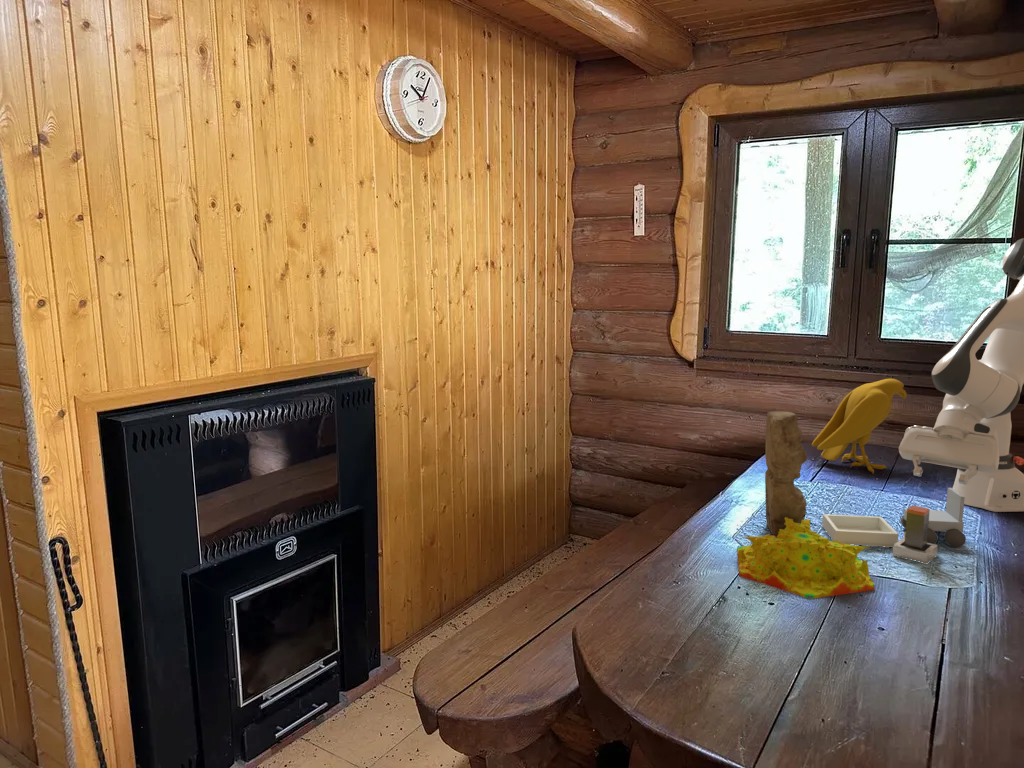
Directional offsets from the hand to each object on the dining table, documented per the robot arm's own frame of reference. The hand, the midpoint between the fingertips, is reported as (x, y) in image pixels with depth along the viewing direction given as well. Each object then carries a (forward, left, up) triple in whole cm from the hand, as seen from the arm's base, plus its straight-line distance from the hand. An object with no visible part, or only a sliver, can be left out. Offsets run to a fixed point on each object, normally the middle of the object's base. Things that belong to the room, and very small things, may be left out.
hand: (939, 478), depth 163 cm
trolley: (-1, -3, -15) cm, 16 cm away
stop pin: (+7, +9, -16) cm, 19 cm away
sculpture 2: (-3, -68, -16) cm, 70 cm away
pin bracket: (+7, +9, -15) cm, 19 cm away
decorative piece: (+34, +20, -16) cm, 43 cm away
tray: (+16, -1, -15) cm, 23 cm away
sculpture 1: (+33, -2, -16) cm, 37 cm away
